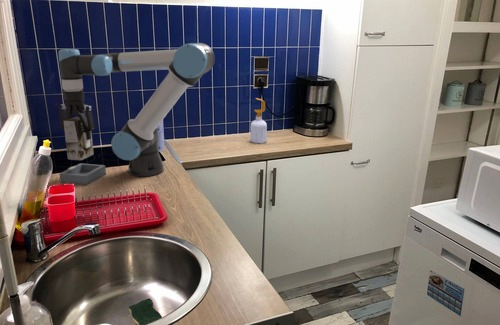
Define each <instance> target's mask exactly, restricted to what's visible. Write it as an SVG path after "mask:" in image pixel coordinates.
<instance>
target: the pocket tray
mask: <svg viewBox="0 0 500 325" xmlns="http://www.w3.org/2000/svg"><path fill="white" fill-rule="evenodd" d="M106 175H107V169H106V165H104V164H95V163H94V164H92V163H91V164H90V163H82V162H81V163H78V164H77V165H76V164H75V165H74V166H70V167H68V168H67V169H66V170H63V171H62V172H60V173H59V181H60V183H61V182H62V183H61V184H66V183H74V184H73V185H78V186H79V185H80V186H89V185H91V184H92V183H94V182H95V181H97V180H100V179H101V178H102V177H104V176H106Z"/></svg>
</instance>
